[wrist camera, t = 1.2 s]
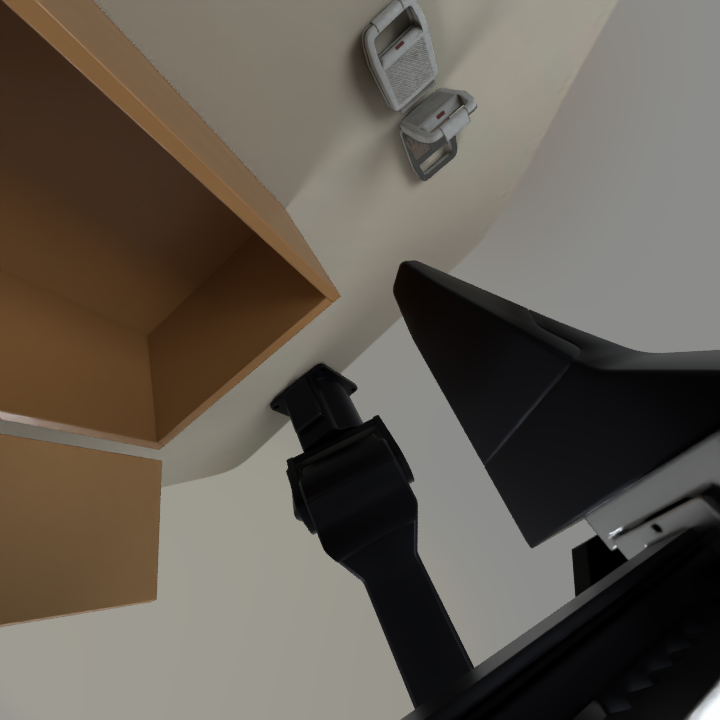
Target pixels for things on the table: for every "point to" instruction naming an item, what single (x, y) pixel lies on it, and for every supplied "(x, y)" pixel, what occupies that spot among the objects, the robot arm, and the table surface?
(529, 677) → the robot arm
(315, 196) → the table surface
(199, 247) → the cardboard box
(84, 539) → the flap
